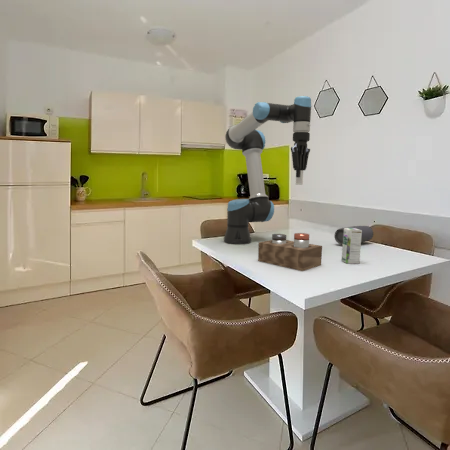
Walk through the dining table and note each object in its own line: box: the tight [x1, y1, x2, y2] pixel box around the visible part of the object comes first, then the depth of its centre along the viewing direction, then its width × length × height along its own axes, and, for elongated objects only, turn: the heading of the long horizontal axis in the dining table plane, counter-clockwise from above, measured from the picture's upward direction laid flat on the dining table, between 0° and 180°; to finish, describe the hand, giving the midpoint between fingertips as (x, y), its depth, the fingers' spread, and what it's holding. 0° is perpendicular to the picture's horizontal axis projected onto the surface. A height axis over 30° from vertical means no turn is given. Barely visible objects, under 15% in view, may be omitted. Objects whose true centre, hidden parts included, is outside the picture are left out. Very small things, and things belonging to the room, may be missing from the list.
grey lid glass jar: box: [271, 233, 287, 244], centre depth 148 cm, size 6×6×10 cm
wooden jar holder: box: [257, 239, 323, 272], centre depth 144 cm, size 22×14×8 cm, turn 45°
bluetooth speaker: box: [333, 225, 374, 245], centre depth 188 cm, size 23×9×10 cm, turn 123°
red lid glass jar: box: [293, 232, 310, 248], centre depth 140 cm, size 6×6×10 cm
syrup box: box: [341, 227, 362, 265], centre depth 147 cm, size 6×6×14 cm
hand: (299, 184), depth 160 cm, fingers closed
